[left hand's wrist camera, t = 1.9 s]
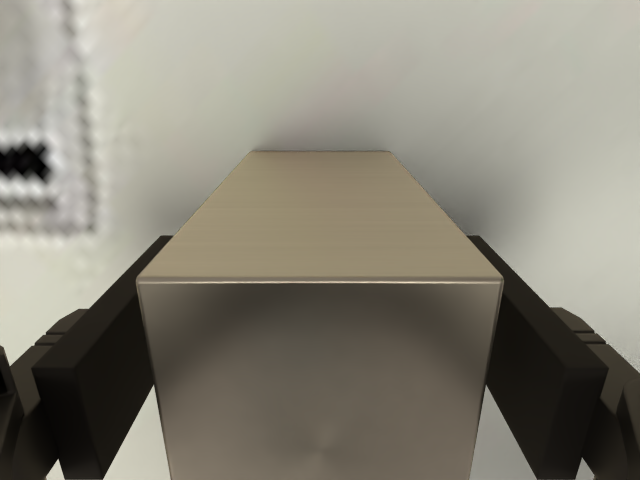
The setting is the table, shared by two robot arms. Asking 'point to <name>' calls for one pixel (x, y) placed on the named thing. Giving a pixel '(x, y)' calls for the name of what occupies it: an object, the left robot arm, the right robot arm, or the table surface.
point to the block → (319, 326)
